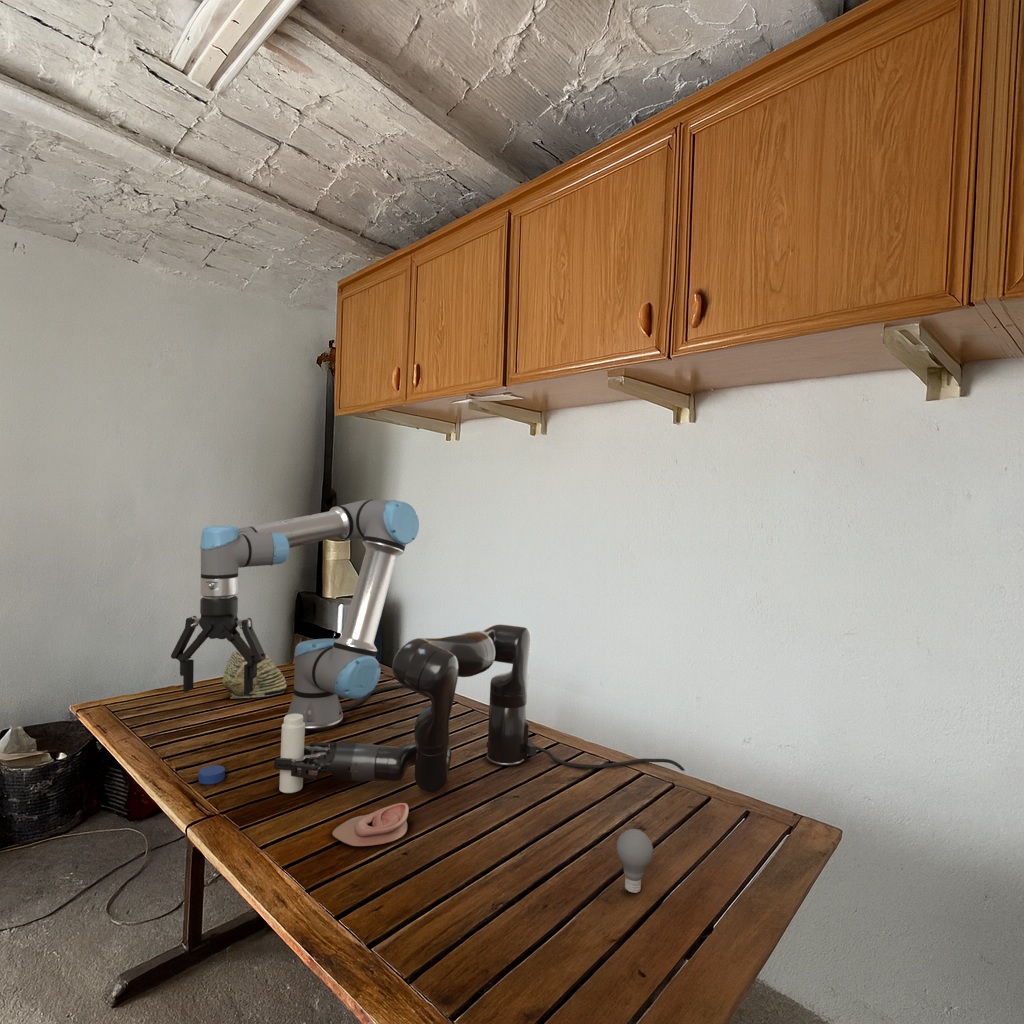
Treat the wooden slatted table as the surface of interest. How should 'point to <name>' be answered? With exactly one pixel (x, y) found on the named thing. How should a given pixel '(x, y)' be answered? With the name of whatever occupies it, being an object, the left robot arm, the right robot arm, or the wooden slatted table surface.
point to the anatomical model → (374, 826)
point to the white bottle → (292, 750)
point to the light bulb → (634, 857)
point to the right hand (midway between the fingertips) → (280, 757)
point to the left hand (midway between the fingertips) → (218, 691)
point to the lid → (211, 774)
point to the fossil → (263, 684)
